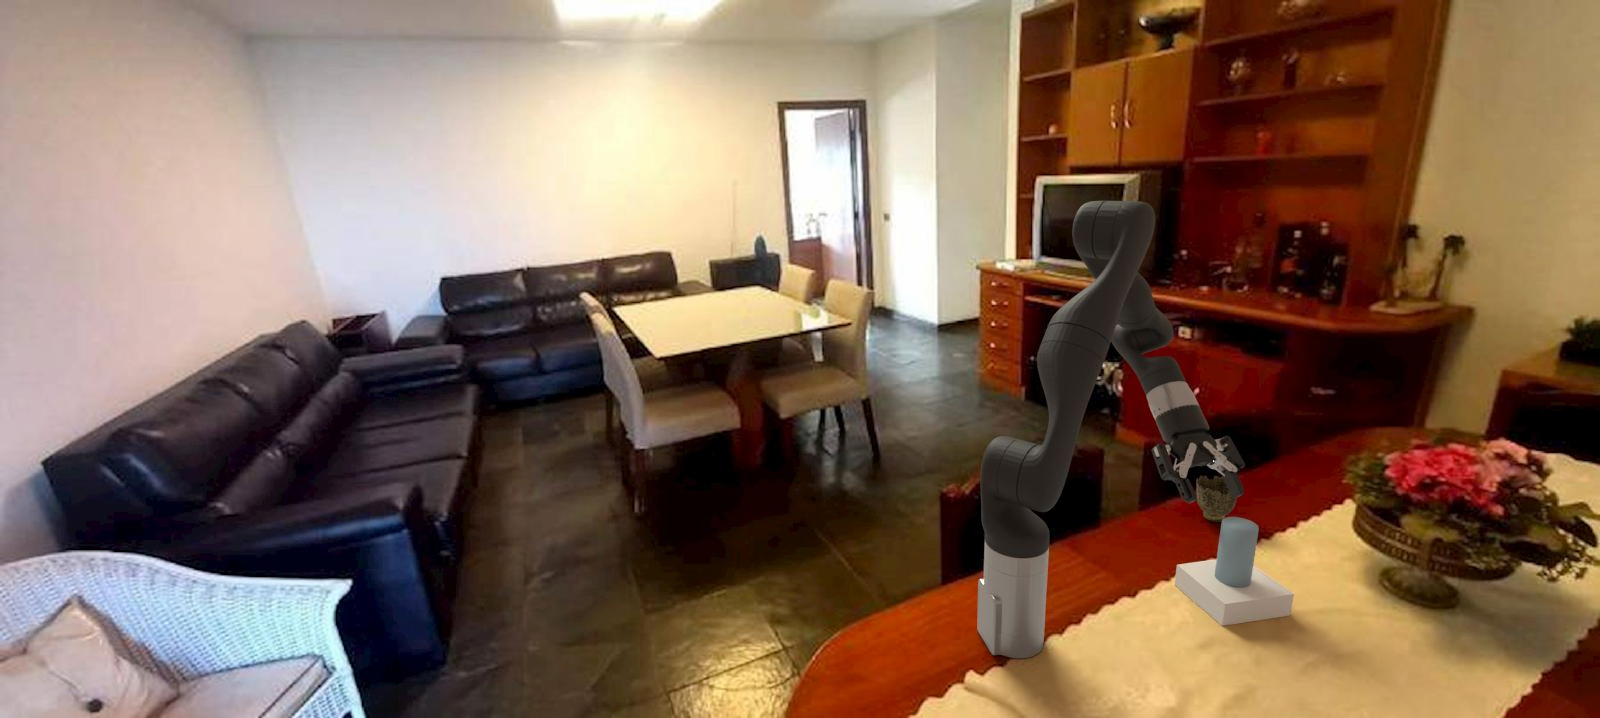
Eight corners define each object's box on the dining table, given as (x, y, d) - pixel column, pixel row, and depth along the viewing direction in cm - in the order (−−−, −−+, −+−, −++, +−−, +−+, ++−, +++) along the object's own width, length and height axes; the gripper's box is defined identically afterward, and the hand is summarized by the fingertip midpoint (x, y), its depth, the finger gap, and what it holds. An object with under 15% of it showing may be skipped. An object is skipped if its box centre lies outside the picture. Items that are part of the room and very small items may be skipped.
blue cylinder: (1229, 589, 107) (1237, 534, 104) (1207, 571, 112) (1214, 518, 109) (1258, 585, 108) (1266, 530, 105) (1235, 568, 112) (1242, 515, 110)
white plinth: (1222, 625, 105) (1225, 604, 104) (1174, 584, 115) (1176, 564, 114) (1290, 615, 106) (1294, 593, 105) (1237, 575, 117) (1240, 555, 116)
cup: (1228, 511, 138) (1233, 476, 135) (1240, 529, 131) (1245, 492, 129) (1187, 508, 140) (1192, 473, 137) (1197, 526, 133) (1202, 489, 131)
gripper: (1150, 407, 116) (1189, 496, 108) (1225, 399, 118) (1268, 487, 110) (1129, 424, 122) (1164, 510, 115) (1200, 416, 124) (1239, 501, 116)
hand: (1215, 498), depth 112 cm, fingers open, 8 cm apart
